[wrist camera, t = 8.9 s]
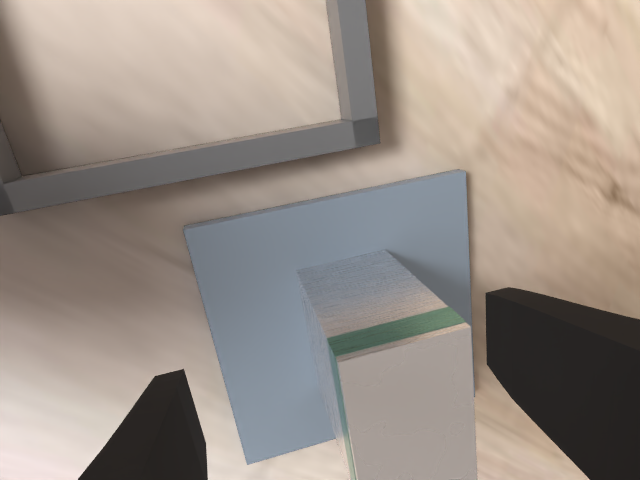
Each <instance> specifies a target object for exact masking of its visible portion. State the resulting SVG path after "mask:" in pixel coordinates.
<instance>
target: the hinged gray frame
mask: <svg viewBox="0 0 640 480" xmlns="http://www.w3.org/2000/svg"><path fill="white" fill-rule="evenodd" d="M326 6H327V14H328V21H329V29H330V37H331V44H332V52H333V59H334V67H335V74H336V82H337V89H338V97H339V105H340V112H341V119H340V120H335V121H329V122H323V123H318V124H312V125H307V126H301V127H295V128H290V129H284V130H279V131H273V132H267V133H262V134H256V135H251V136H245V137H239V138H234V139H228V140H223V141H217V142H211V143H206V144H200V145H195V146H189V147H183V148H178V149H172V150H167V151H161V152H155V153H150V154H144V155H139V156H133V157H127V158H122V159H116V160H111V161H105V162H99V163H94V164H88V165H83V166H77V167H71V168H66V169H60V170H55V171H49V172H44V173H38V174H32V175H27V176H22V175H21V173H20V170H19V167H18V165H17V162H16V160H15V157H14V155H13V152H12V149H11V147H10V144H9V142H8V139H7V137H6V134H5V131H4V129H3V126H2V124H1V121H0V216H2V215H7V214H12V213H17V212H23V211H28V210H33V209H38V208H44V207H49V206H54V205H59V204H65V203H70V202H75V201H80V200H86V199H91V198H96V197H101V196H107V195H112V194H117V193H122V192H128V191H133V190H138V189H143V188H149V187H154V186H159V185H164V184H170V183H175V182H180V181H185V180H191V179H196V178H201V177H206V176H212V175H217V174H222V173H227V172H233V171H238V170H243V169H248V168H254V167H259V166H264V165H269V164H275V163H280V162H285V161H290V160H296V159H301V158H306V157H311V156H317V155H322V154H327V153H332V152H338V151H343V150H348V149H353V148H359V147H364V146H369V145H374V144H380V135H379V125H378V116H377V106H376V97H375V87H374V78H373V68H372V59H371V49H370V40H369V30H368V21H367V11H366V2H365V0H326Z"/></svg>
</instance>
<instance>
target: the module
mask: <svg viewBox="0 0 640 480" xmlns="http://www.w3.org/2000/svg"><path fill="white" fill-rule="evenodd" d="M296 274H297V279H298V285H299V290H300V295H301V301H302V306H303V311H304V316H305V322H306V327H307V332H308V338H309V343H310V348H311V353H312V359H313V364H314V369H315V375H316V380H317V385H318V388H319V391H320V394H321V397H322V400H323V403H324V406H325V408H326V411H327V414H328V417H329V420H330V423H331V426H332V428H333V431H334V434H335V437H336V440H337V443H338V446H339V448H340V451H341V454H342V457H343V460H344V463H345V465H346V468H347V471H348V474H349V477H350V480H478V479H477V457H476V434H475V411H474V388H473V366H472V343H471V327H470V326H469V325H468V324H467V323H466V321H465V320H464V319H463V318H462V317H461V316H460V315H458V314H457V313H456V312H455V311H454V310H453V309H452V308H451V307H450V306H449V307H448V306H447V305H446V304H445V303H444V302H443V301H442V300H440V299H439V298H438V297H437V296H436V295H435V294H434V293H433V292H432V291H430V290H429V289H428V288H427V287H426V286H425V285H424V284H423V283H422V282H420V281H419V280H418V279H417V278H416V277H415V276H414V275H413V274H412V273H410V272H409V271H408V270H407V269H406V268H405V267H404V266H403V265H402V264H401V263H399V262H398V261H397V260H396V259H395V258H394V257H393V256H392V255H391V254H389V253H388V252H387V251H386V250H385V249H384V250H380V251H376V252H371V253H367V254H363V255H359V256H354V257H350V258H346V259H341V260H337V261H333V262H328V263H324V264H320V265H316V266H311V267H307V268H303V269H298V270H296Z"/></svg>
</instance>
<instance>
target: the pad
mask: <svg viewBox="0 0 640 480" xmlns="http://www.w3.org/2000/svg"><path fill="white" fill-rule="evenodd" d="M183 231H184V235H185V239H186V242H187V246H188V250H189V253H190V257H191V261H192V264H193V268H194V272H195V275H196V279H197V283H198V286H199V290H200V294H201V297H202V301H203V305H204V308H205V312H206V316H207V319H208V323H209V327H210V330H211V334H212V338H213V341H214V345H215V349H216V352H217V356H218V360H219V363H220V367H221V371H222V374H223V378H224V382H225V385H226V389H227V393H228V396H229V400H230V404H231V407H232V411H233V415H234V418H235V422H236V426H237V429H238V433H239V437H240V440H241V444H242V448H243V451H244V455H245V459H246V462H247V465H249V464H252V463H255V462H259V461H262V460H265V459H269V458H272V457H276V456H279V455H282V454H286V453H289V452H292V451H296V450H299V449H302V448H306V447H309V446H313V445H316V444H319V443H323V442H326V441H329V440H333V439H336V437H335V434H334V431H333V428H332V426H331V423H330V420H329V417H328V414H327V411H326V408H325V406H324V403H323V400H322V397H321V394H320V391H319V388H318V385H317V380H316V375H315V369H314V364H313V359H312V353H311V348H310V343H309V338H308V332H307V327H306V322H305V316H304V311H303V306H302V301H301V295H300V290H299V285H298V279H297V274H296V270H298V269H303V268H307V267H311V266H316V265H320V264H324V263H328V262H333V261H337V260H341V259H346V258H350V257H354V256H359V255H363V254H367V253H371V252H376V251H380V250H384V249H385V250H386V251H387V252H388V253H389V254H391V255H392V256H393V257H394V258H395V259H396V260H397V261H398V262H399V263H401V264H402V265H403V266H404V267H405V268H406V269H407V270H408V271H409V272H410V273H412V274H413V275H414V276H415V277H416V278H417V279H418V280H419V281H420V282H422V283H423V284H424V285H425V286H426V287H427V288H428V289H429V290H430V291H432V292H433V293H434V294H435V295H436V296H437V297H438V298H439V299H440V300H442V301H443V302H444V303H445V304H446V305H447V306H448V307H449V306H450V307H451V308H452V309H453V310H454V311H455V312H456V313H457V314H458V315H460V316H461V317H462V318H463V319H464V320H465V321H466V323H467V324H468V325H469V326H470V327H471V343H472V366H473V388H474V397H475V384H474V360H473V336H472V312H471V287H470V263H469V239H468V214H467V190H466V171H463V170H460V169H457V170H452V171H447V172H443V173H438V174H433V175H428V176H423V177H418V178H413V179H409V180H404V181H399V182H394V183H389V184H384V185H380V186H375V187H370V188H365V189H360V190H355V191H350V192H346V193H341V194H336V195H331V196H326V197H321V198H317V199H312V200H307V201H302V202H297V203H292V204H287V205H283V206H278V207H273V208H268V209H263V210H258V211H254V212H249V213H244V214H239V215H234V216H229V217H224V218H220V219H215V220H210V221H205V222H200V223H195V224H191V225H186V226H184V228H183Z"/></svg>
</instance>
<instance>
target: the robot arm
mask: <svg viewBox="0 0 640 480" xmlns="http://www.w3.org/2000/svg"><path fill="white" fill-rule="evenodd" d="M486 341H487V365H488V366H489V368H490V369H491V371H492V372H493V373H494V375H495V376H496V378H497V379H498V380H499V382H500V383H501V385H502V386H503V387H504V388H505V390H506V391H507V392H508V394H509V395H510V396H511V398H512V399H513V400H514V401H515V402H516V403H517V404H518V405H519V406H520V407H521V409H522V410H523V411H524V412H525V413H526V414H527V415H528V416H529V417H530V418H531V419H532V420H533V421H534V422H535V423H536V424H537V425H538V426H539V427H540V428H541V429H542V430H543V431H544V433H545V434H546V435H547V436H548V437H549V438H550V439H551V440H552V441H553V442H554V443H555V444H556V445H557V446H558V447H559V448H560V449H561V450H562V451H563V452H564V453H565V454H566V455H567V456H568V457H569V458H570V459H571V460H572V461H573V462H574V463H575V464H576V465H577V467H578V468H579V469H580V470H581V471H582V472H583V473H584V474H585V475H586V476H587V477H588V478H589V479H590V480H640V320H639V319H635V318H630V317H626V316H622V315H618V314H614V313H610V312H606V311H602V310H599V309H595V308H591V307H587V306H583V305H580V304H576V303H572V302H569V301H565V300H561V299H557V298H554V297H550V296H546V295H542V294H538V293H534V292H530V291H525V290H521V289H515V288H509V287H508V288H504V289H500V290H496V291H492V292H488V293H486ZM78 480H208V477H207V456H206V442H205V439H204V435H203V432H202V429H201V425H200V422H199V419H198V415H197V412H196V408H195V405H194V402H193V398H192V395H191V392H190V388H189V385H188V381H187V378H186V375H185V371H184V369H182V370H178V371H174V372H170V373H166V374H162V375H158V376H155V377H154V378H153V380H152V381H151V382H150V384H149V385H148V387H147V388H146V389H145V391H144V392H143V393H142V395H141V396H140V398H139V399H138V401H137V402H136V403H135V405H134V406H133V408H132V409H131V410H130V412H129V413H128V415H127V416H126V417H125V419H124V420H123V422H122V423H121V424H120V426H119V427H118V429H117V430H116V431H115V433H114V434H113V435H112V437H111V438H110V439H109V441H108V442H107V443H106V445H105V446H104V447H103V449H102V450H101V451H100V453H99V454H98V455H97V456H96V457H95V459H94V460H93V461H92V462H91V464H90V465H89V466H88V467H87V469H86V470H85V471H84V472H83V474H82V475H81V476H80V477H79V478H78Z"/></svg>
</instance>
